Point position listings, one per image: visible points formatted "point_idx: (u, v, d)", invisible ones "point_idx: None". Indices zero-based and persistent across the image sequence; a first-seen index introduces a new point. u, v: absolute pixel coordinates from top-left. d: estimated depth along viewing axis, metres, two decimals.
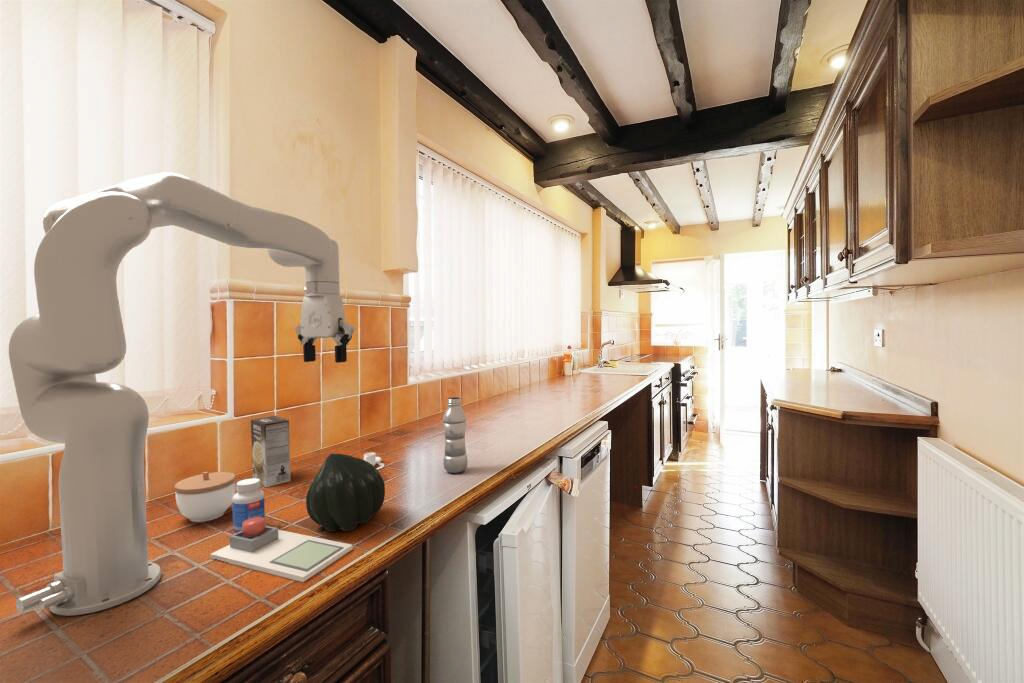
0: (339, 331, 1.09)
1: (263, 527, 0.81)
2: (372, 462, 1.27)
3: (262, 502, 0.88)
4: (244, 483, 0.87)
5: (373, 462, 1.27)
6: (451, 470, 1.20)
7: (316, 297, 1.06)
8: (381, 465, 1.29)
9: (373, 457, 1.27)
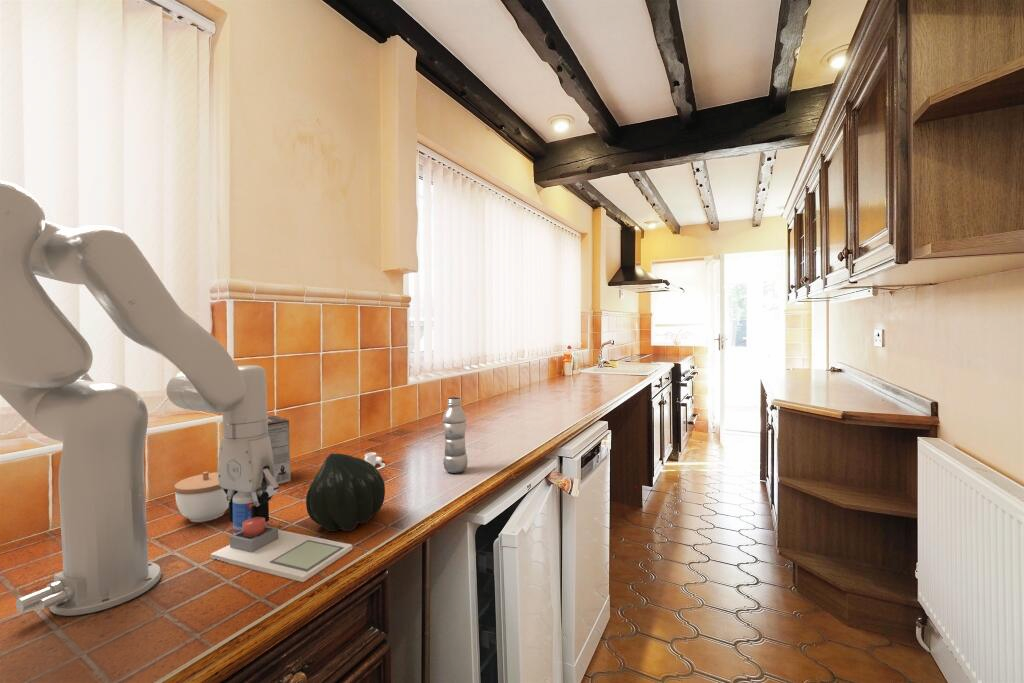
0: (263, 482, 0.88)
1: (263, 527, 0.81)
2: (373, 462, 1.27)
3: None
4: None
5: (374, 462, 1.27)
6: (451, 470, 1.20)
7: (235, 442, 0.85)
8: (382, 465, 1.29)
9: (374, 457, 1.27)
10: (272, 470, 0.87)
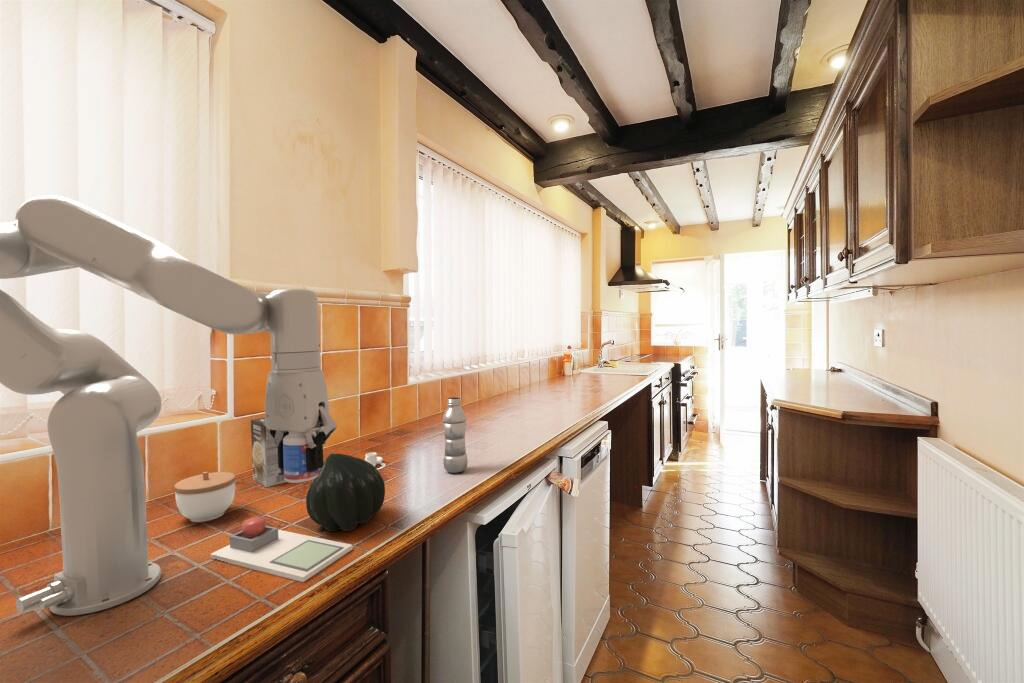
0: (317, 422, 0.77)
1: (263, 527, 0.81)
2: (373, 462, 1.27)
3: None
4: None
5: (374, 462, 1.27)
6: (451, 470, 1.20)
7: (286, 374, 0.74)
8: (382, 465, 1.29)
9: (374, 457, 1.27)
10: (327, 408, 0.77)
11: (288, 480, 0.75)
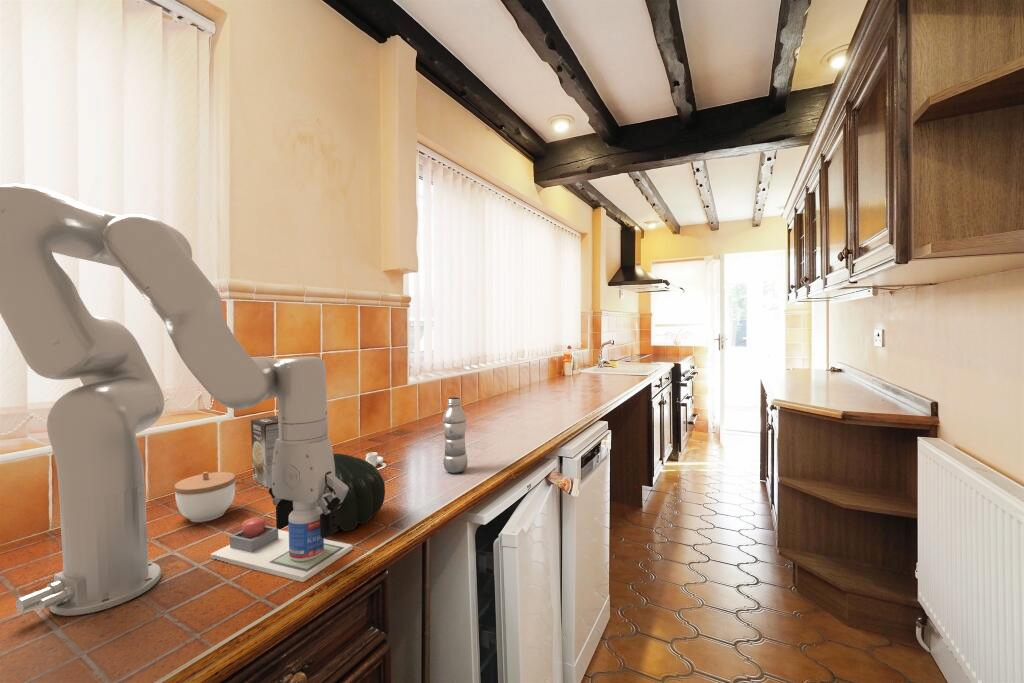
0: (327, 488, 0.76)
1: (263, 527, 0.81)
2: (374, 462, 1.27)
3: None
4: None
5: (375, 462, 1.27)
6: (451, 470, 1.20)
7: (293, 444, 0.74)
8: (383, 465, 1.29)
9: (375, 457, 1.27)
10: None
11: (293, 558, 0.75)
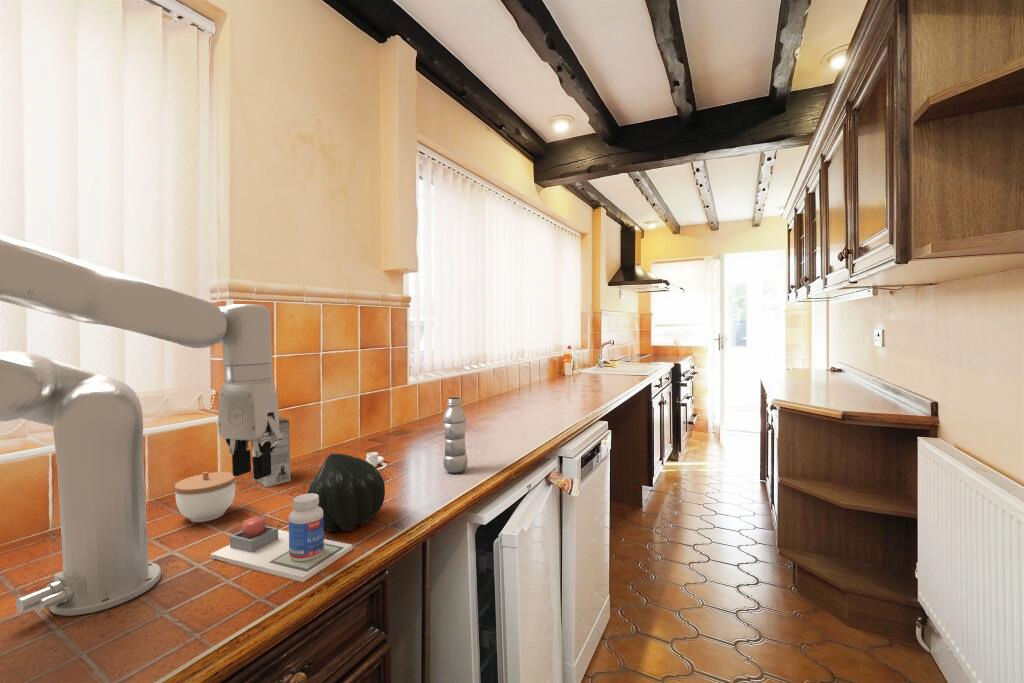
0: (267, 431, 0.81)
1: (263, 527, 0.81)
2: (375, 462, 1.27)
3: (322, 521, 0.77)
4: (302, 499, 0.76)
5: (376, 462, 1.27)
6: (451, 470, 1.20)
7: (237, 385, 0.78)
8: (384, 465, 1.29)
9: (376, 457, 1.27)
10: (277, 418, 0.80)
11: (293, 558, 0.75)
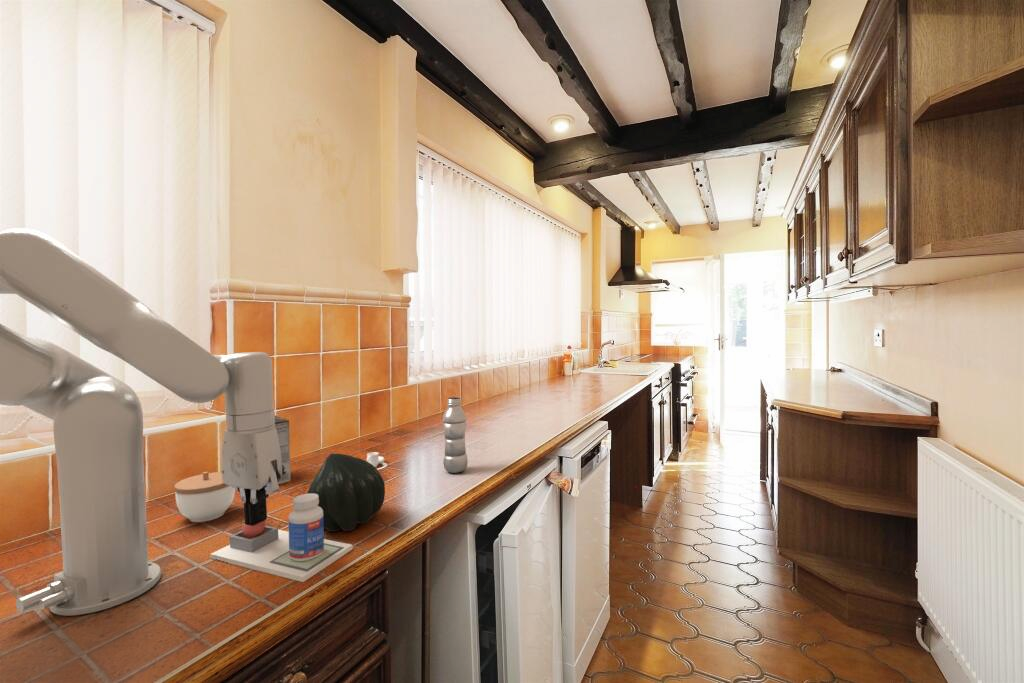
0: None
1: (263, 528, 0.81)
2: (375, 462, 1.27)
3: (322, 521, 0.77)
4: (301, 499, 0.76)
5: (376, 462, 1.28)
6: (451, 470, 1.20)
7: (239, 434, 0.78)
8: (384, 465, 1.29)
9: (376, 457, 1.27)
10: (280, 465, 0.81)
11: (293, 558, 0.75)
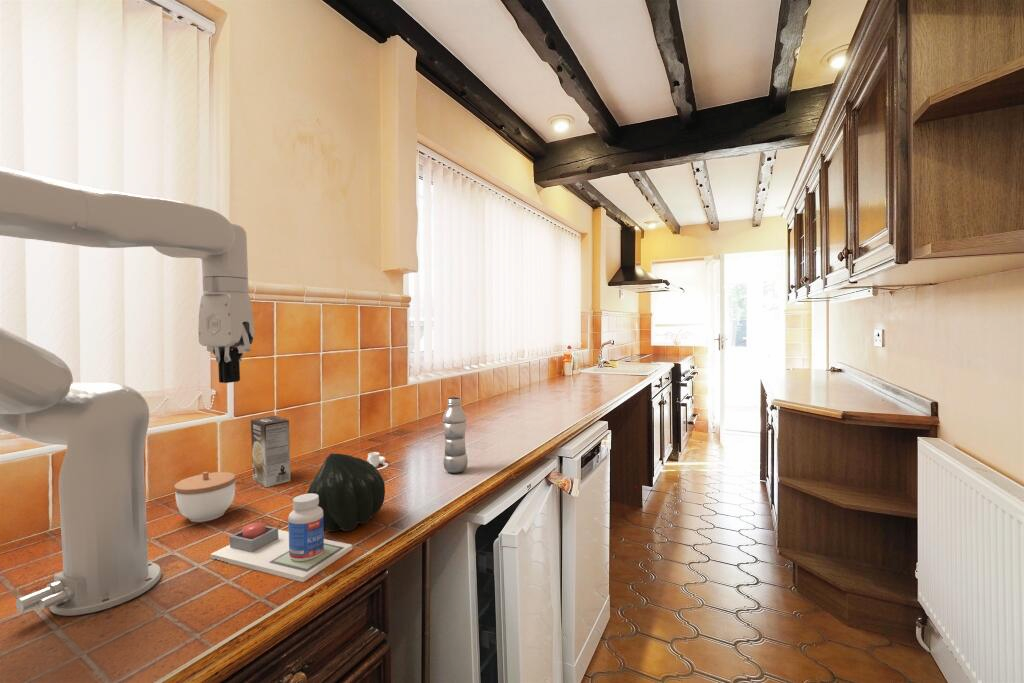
0: None
1: (263, 532, 0.81)
2: (376, 462, 1.27)
3: (322, 521, 0.77)
4: (301, 499, 0.76)
5: (377, 462, 1.28)
6: (451, 470, 1.20)
7: (215, 296, 0.86)
8: (385, 465, 1.29)
9: (377, 457, 1.27)
10: (252, 328, 0.88)
11: (293, 558, 0.75)
